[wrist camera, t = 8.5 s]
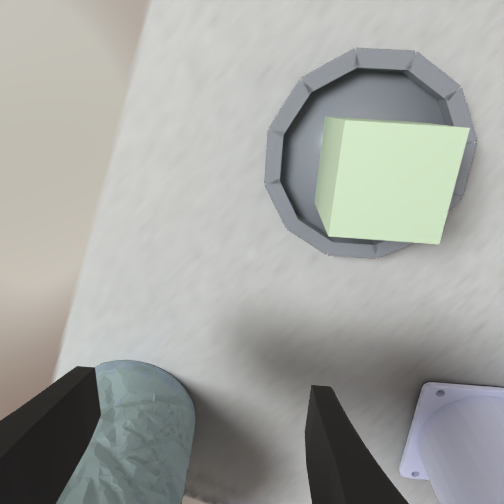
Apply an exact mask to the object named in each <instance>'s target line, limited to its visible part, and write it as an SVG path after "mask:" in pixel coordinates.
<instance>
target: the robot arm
mask: <svg viewBox="0 0 504 504" xmlns="http://www.w3.org/2000/svg"><path fill="white" fill-rule="evenodd" d="M439 390H441V391H440V392H437V391H439ZM100 416H101V410H100V402H99V394H98V387H97V379H96V371H95V368H92V367H80V366H77V367H75V368H74V369H72V370H71V371H70V372H68V373H67V374H65V375H64V376H63V377H61V378H60V379H59V380H57V381H56V382H55V383H53V384H52V385H50V386H49V387H48V388H46V389H45V390H44V391H42V392H41V393H40V394H38V395H37V396H35V397H34V398H33V399H31V400H30V401H28V402H27V403H26V404H24V405H23V406H21V407H20V408H19V409H17V410H16V411H14V412H13V413H11V414H10V415H8V416H7V417H5V418H4V419H2V420H1V421H0V504H56V503H57V501H58V499H59V497H60V496H61V494H62V492H63V490H64V488H65V487H66V485H67V483H68V481H69V480H70V478H71V476H72V474H73V473H74V471H75V469H76V467H77V465H78V464H79V462H80V460H81V458H82V456H83V455H84V453H85V451H86V449H87V447H88V445H89V443H90V441H91V438H92V436H93V434H94V431H95V429H96V426H97V424H98V421H99V419H100ZM305 446H306V465H307V472H308V479H309V485H310V492H311V499H312V504H409V503H408V502H407V501H406V500H405V498H404V497H403V496H402V495H401V493H400V492H399V491H398V490H397V489H396V487H395V486H394V485H393V483H392V482H391V481H390V480H389V478H388V477H387V476H386V474H385V473H384V472H383V470H382V469H381V467H380V466H379V465H378V463H377V462H376V460H375V459H374V458H373V456H372V455H371V453H370V452H369V450H368V449H367V447H366V446H365V444H364V443H363V441H362V440H361V438H360V436H359V435H358V433H357V432H356V430H355V429H354V427H353V425H352V424H351V422H350V420H349V419H348V417H347V415H346V413H345V412H344V410H343V408H342V406H341V404H340V402H339V401H338V399H337V397H336V395H335V393H334V391H333V389H332V388H331V387H328V386H316V385H311V392H310V399H309V406H308V414H307V421H306V428H305ZM399 472H400V474H401V476H402V477H404V478H410V479H421V480H430V483H431V485H432V487H433V490H434V492H435V495H436V497H437V499H438V502H439V504H504V388H499V387H487V386H474V385H462V384H449V383H436V382H428V383H426V384H424V385H423V387H422V389H421V392H420V396H419V399H418V403H417V406H416V410H415V414H414V417H413V421H412V424H411V428H410V431H409V435H408V438H407V442H406V445H405V449H404V452H403V456H402V459H401V463H400V466H399Z"/></svg>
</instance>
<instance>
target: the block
mask: <svg viewBox="0 0 504 504" xmlns="http://www.w3.org/2000/svg"><path fill="white" fill-rule="evenodd" d="M469 130H470V128H466V127H457V126H448V125H439V124H431V123H422V122H412V121H396V120H380V119H364V118H348V117H332V116H325V121H324V129H323V137H322V145H321V153H320V161H319V169H318V178H317V186H316V194H315V202H314V203H315V205H316V208H317V210H318V213H319V215H320V217H321V220H322V222H323V225H324V227H325V230H326V232H327V234H328V236H330V237H344V238H358V239H372V240H386V241H400V242H413V243H427V244H440V240H441V236H442V232H443V229H444V225H445V221H446V217H447V213H448V210H449V206H450V202H451V198H452V194H453V191H454V187H455V183H456V179H457V176H458V172H459V168H460V164H461V160H462V157H463V153H464V149H465V145H466V141H467V138H468V134H469Z"/></svg>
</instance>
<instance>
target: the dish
mask: <svg viewBox="0 0 504 504" xmlns="http://www.w3.org/2000/svg"><path fill="white" fill-rule="evenodd" d="M459 87H460V85H459V84H458V83H456V82H455V81H454V80H453V79H451V78H450V77H449V76H448V75H446V74H445V73H444V72H443V71H441V70H440V69H439V68H437V67H436V66H435V65H434V64H432V63H431V62H430V61H429V60H427V59H426V58H425V57H424V56H422V55H421V54H420V53H419V52H415V51H411V50H391V49H371V48H356V49H352V50H350V51H349V52H347V53H345V54H343V55H341V56H340V57H338V58H336V59H334V60H332V61H330V62H329V63H327V64H325V65H323V66H321V67H320V68H318V69H316V70H314V71H312V72H310V73H309V74H307V75H305V76H303V77H301V78H300V79H299V80H298V82H297V83H296V85H295V87H294V88H293V90H292V91H291V93H290V94H289V96H288V98H287V99H286V101H285V102H284V103H283V105H282V107H281V108H280V110H279V112H278V113H277V115H276V117H275V118H274V120H273V121H272V123H271V124H270V126H269V129H270V130H268V134H267V149H266V165H265V180H264V183H265V187H266V189H267V191H268V193H269V195H270V197H271V199H272V201H273V203H274V205H275V207H276V209H277V211H278V213H279V215H280V217H281V219H282V221H283V223H284V225H285V227H286V228H287V230H289V231H290V232H292V233H293V234H295V235H296V236H298V237H299V238H301V239H302V240H304V241H306V242H307V243H309V244H310V245H312V246H313V247H315V248H316V249H318V250H319V251H321V252H322V253H324V254H328V255H330V256H344V257H359V258H373V259H375V257H377V258H379V257H382V256H384V255H386V254H389V253H391V252H394V251H396V250H399V249H401V248H403V247H406V246H408V245H411V244H413V242H400V241H386V240H372V239H358V238H344V237H330V236H328V234H327V232H326V230H325V227H324V225H323V222H322V220H321V217H320V215H319V213H318V210H317V208H316V205H315V203H314V202H315V194H316V186H317V178H318V169H319V161H320V153H321V145H322V137H323V129H324V121H325V116H332V117H348V118H364V119H380V120H396V121H412V122H422V123H431V124H439V125H448V126H457V127H466V128H470V130H469V134H468V138H467V141H466V145H465V149H464V153H463V157H462V160H461V164H460V168H459V172H458V176H457V179H456V183H455V187H454V191H453V194H452V198H451V202H450V206H449V210H448V212H449V211H450V210H451V209H452V208H453V207H454V206H455V205H456V204H457V202H458V201H459V200H460V199H461V197H460V196H463V193H464V190H465V186H466V182H467V178H468V175H469V171H470V167H471V164H472V160H473V156H474V153H475V149H476V145H477V143H475V141H477V138H476V135H475V131H474V128H473V124H472V121H471V117H470V114H469V110H468V107H467V103H466V100H465V96H464V93H463V89H462V88H459ZM458 195H460V196H458ZM447 214H448V213H447Z"/></svg>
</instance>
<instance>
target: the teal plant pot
mask: <svg viewBox="0 0 504 504" xmlns="http://www.w3.org/2000/svg"><path fill="white" fill-rule="evenodd" d="M94 368H95V371H96V379H97V387H98V394H99V402H100V410H101V416H100V419H99V421H98V424H97V426H96V429H95V431H94V434H93V436H92V438H91V441H90V443H89V445H88V447H87V449H86V451H85V453H84V455H83V456H82V458H81V460H80V462H79V464H78V465H77V467H76V469H75V471H74V473H73V474H72V476H71V478H70V480H69V481H68V483H67V485H66V487H65V488H64V490H63V492H62V494H61V496H60V497H59V499H58V501H57V503H56V504H182V498H183V496H184V492H185V486H186V479H187V470H188V469H189V466H190V464H189V462H190V457H191V447H192V442H193V438H194V431H195V423H196V418H195V409H194V404H193V402H192V399H191V397H190V395H189V394H188V392H187V390H186V389H185V388H184V387H183V386H182V385H181V383H180V382H179V381H178V380H177V379H175V378H174V377H173V376H172V375H170V374H169V373H167V372H165V371H164V370H162V369H160V368H158V367H155V366H153V365H150V364H147V363H143V362H138V361H131V360H119V361H111V362H105V363H102V364H100V365H98V366H96V367H94Z"/></svg>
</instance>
